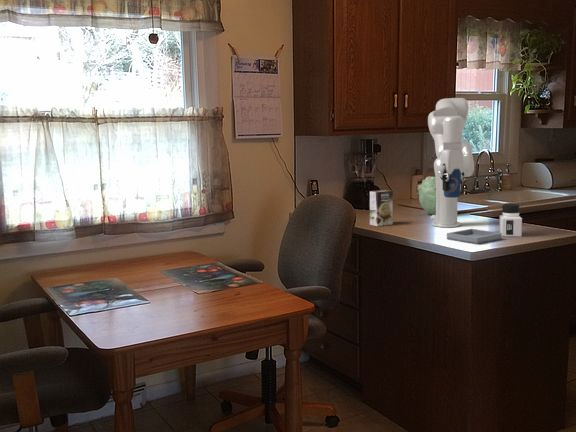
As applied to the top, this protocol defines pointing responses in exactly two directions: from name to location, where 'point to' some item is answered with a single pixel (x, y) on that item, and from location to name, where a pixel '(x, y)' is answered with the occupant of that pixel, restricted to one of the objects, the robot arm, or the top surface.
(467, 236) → the tray
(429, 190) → the cabbage
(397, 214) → the top surface
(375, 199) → the coffee box
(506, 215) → the container
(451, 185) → the soda can
